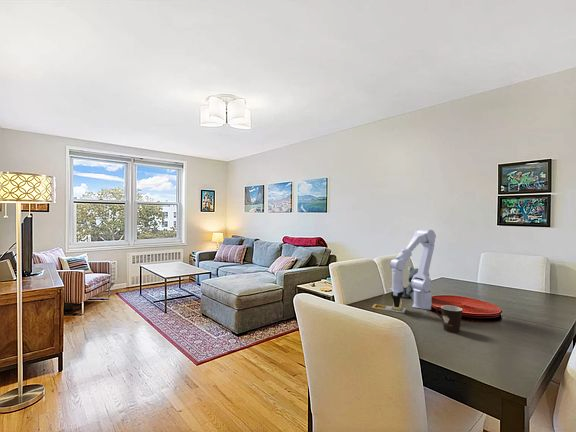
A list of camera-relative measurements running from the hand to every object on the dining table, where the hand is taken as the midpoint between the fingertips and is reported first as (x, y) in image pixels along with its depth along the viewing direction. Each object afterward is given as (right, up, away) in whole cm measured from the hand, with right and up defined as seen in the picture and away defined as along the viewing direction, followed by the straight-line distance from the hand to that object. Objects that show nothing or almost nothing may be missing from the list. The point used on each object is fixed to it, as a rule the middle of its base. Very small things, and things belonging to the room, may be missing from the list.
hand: (397, 305), depth 167 cm
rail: (-4, -2, +2) cm, 5 cm away
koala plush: (+21, -3, +25) cm, 33 cm away
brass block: (0, -2, 0) cm, 2 cm away
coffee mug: (+14, -3, -27) cm, 31 cm away
